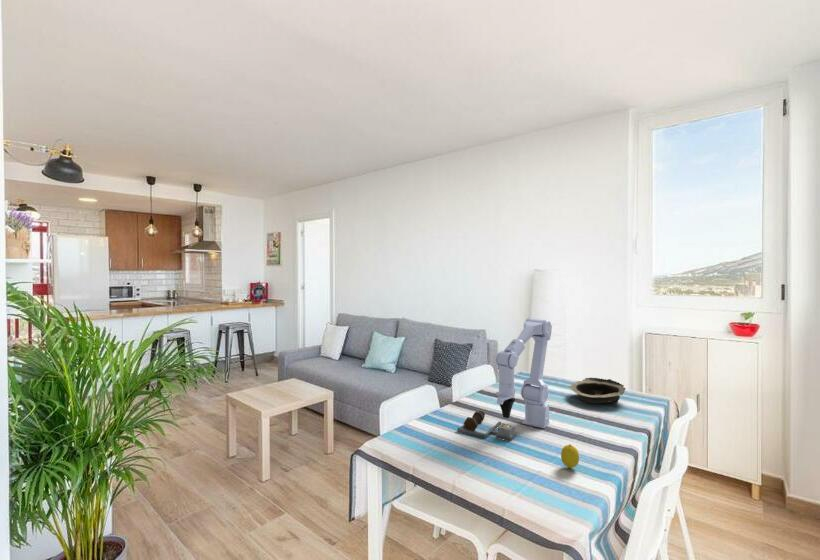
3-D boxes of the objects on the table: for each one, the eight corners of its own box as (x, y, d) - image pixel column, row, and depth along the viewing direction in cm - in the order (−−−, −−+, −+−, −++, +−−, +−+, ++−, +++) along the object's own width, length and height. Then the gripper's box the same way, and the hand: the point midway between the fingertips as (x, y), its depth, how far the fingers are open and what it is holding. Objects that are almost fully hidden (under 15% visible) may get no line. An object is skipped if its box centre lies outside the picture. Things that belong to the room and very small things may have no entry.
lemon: (557, 464, 135) (558, 441, 134) (573, 464, 135) (574, 440, 135) (565, 473, 129) (566, 448, 129) (582, 472, 130) (582, 448, 129)
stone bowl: (627, 397, 202) (627, 379, 201) (622, 417, 181) (623, 397, 180) (574, 388, 215) (575, 372, 214) (564, 406, 194) (565, 387, 193)
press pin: (510, 432, 157) (510, 425, 156) (508, 434, 155) (508, 427, 154) (504, 431, 158) (504, 424, 158) (502, 433, 156) (502, 426, 156)
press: (522, 429, 164) (522, 418, 164) (508, 444, 150) (508, 433, 149) (474, 418, 175) (475, 408, 175) (457, 431, 161) (457, 421, 161)
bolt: (483, 423, 175) (471, 434, 162) (473, 415, 177) (461, 426, 164) (489, 412, 174) (478, 423, 160) (480, 405, 176) (468, 415, 162)
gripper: (503, 376, 164) (503, 409, 164) (489, 385, 152) (489, 421, 152) (520, 379, 160) (520, 412, 160) (507, 388, 148) (507, 425, 148)
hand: (506, 417), depth 156 cm, fingers closed
